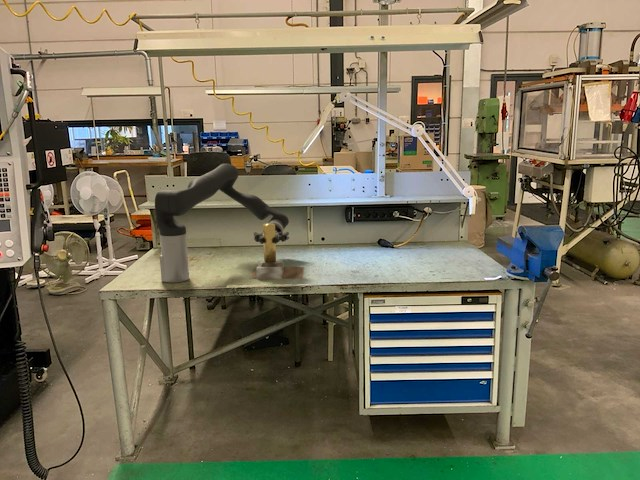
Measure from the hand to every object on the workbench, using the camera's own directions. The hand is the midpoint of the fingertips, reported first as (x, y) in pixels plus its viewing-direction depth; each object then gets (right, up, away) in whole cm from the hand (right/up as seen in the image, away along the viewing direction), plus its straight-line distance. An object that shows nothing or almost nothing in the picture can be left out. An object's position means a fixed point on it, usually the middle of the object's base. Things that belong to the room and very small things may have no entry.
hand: (268, 241), depth 172 cm
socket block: (+3, -13, +9) cm, 16 cm away
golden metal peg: (0, -8, +4) cm, 9 cm away
